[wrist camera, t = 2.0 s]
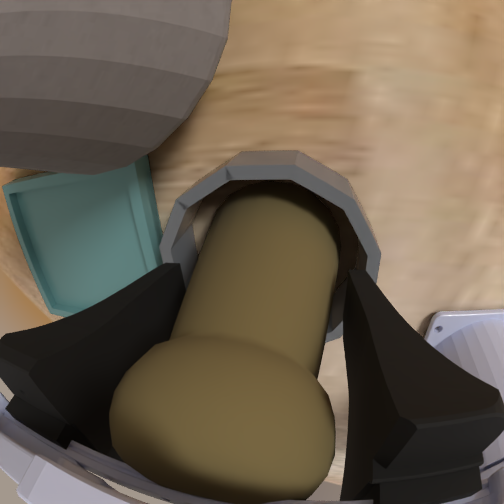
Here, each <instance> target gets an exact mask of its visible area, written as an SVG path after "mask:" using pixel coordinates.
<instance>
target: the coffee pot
mask: <svg viewBox="0 0 504 504" xmlns="http://www.w3.org/2000/svg"><path fill="white" fill-rule="evenodd" d="M231 2H232V0H0V167H9V168H20V169H30V170H40V171H49V172H58V173H66V174H84V175H97V174H101V173H104V172H108V171H112V170H115V169H119V168H123V167H127V166H128V165H130V164H132V163H133V162H135V161H137V160H138V159H140V158H141V157H143V156H145V155H146V154H148V153H150V152H152V151H153V150H155V149H157V148H158V147H159V146H160V145H161V144H162V143H163V142H164V141H165V140H166V139H167V138H168V137H169V136H170V135H171V134H172V133H173V132H174V131H175V130H176V129H177V128H178V127H179V126H180V125H181V124H182V123H183V122H184V121H185V120H186V119H187V118H188V117H189V115H190V114H191V112H192V111H193V109H194V107H195V106H196V104H197V103H198V101H199V100H200V98H201V97H202V95H203V94H204V92H205V90H206V89H207V87H208V86H209V84H210V83H211V81H212V80H213V77H214V74H215V71H216V69H217V66H218V63H219V60H220V58H221V55H222V52H223V50H224V47H225V45H226V42H227V39H228V30H229V20H230V11H231Z"/></svg>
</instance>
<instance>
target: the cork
mask: <svg viewBox="0 0 504 504" xmlns="http://www.w3.org/2000/svg"><path fill="white" fill-rule="evenodd" d="M340 249H341V243H340V235H339V227H338V225H337V223H336V221H335V219H334V217H333V215H332V213H331V211H330V209H329V208H328V207H327V206H326V205H325V204H324V203H323V202H322V201H321V200H320V199H319V198H317V197H316V196H315V195H314V194H313V193H311V192H309V191H307V190H305V189H303V188H301V187H299V186H297V185H294V184H291V183H284V182H277V181H265V182H259V183H254V184H248V185H246V186H245V187H243V188H241V189H239V190H237V191H236V192H234V193H232V194H230V195H229V196H228V198H227V199H226V200H225V201H224V202H223V203H222V204H221V206H220V207H219V208H218V209H217V211H216V214H215V216H214V219H213V222H212V224H211V227H210V229H209V232H208V234H207V237H206V240H205V242H204V245H203V247H202V250H201V253H200V255H199V258H198V261H197V263H196V266H195V269H194V271H193V274H192V277H191V280H190V282H189V285H188V288H187V291H186V293H185V296H184V299H183V302H182V305H181V307H180V310H179V313H178V316H177V319H176V322H175V325H174V327H173V330H172V333H171V336H170V339H169V341H165V342H162V343H159V344H155V345H154V346H153V347H152V348H151V349H150V350H149V351H148V352H147V353H146V354H144V355H143V356H142V357H141V358H140V359H139V360H138V361H137V362H136V363H135V364H134V365H133V366H132V367H131V368H130V369H129V370H127V371H126V373H125V374H124V376H123V378H122V379H121V381H120V383H119V384H118V386H117V388H116V389H115V391H114V395H113V399H112V403H111V407H110V412H109V424H110V433H111V440H112V446H113V447H114V449H115V450H116V452H117V453H118V455H119V456H120V457H121V459H122V460H123V461H124V462H125V463H126V464H127V465H129V466H130V467H132V468H133V469H134V470H136V471H137V472H139V473H140V474H142V475H143V476H144V477H146V478H147V479H149V480H151V481H153V482H154V483H156V484H158V485H160V486H163V487H166V488H169V489H172V490H176V491H179V492H183V493H187V494H191V495H195V496H199V497H203V498H207V499H212V500H217V501H222V502H227V503H233V504H264V503H268V502H276V501H284V500H306V499H307V498H309V497H310V496H311V495H312V494H313V493H314V491H315V490H316V489H317V488H318V487H319V485H320V484H321V483H322V482H323V481H324V479H325V478H326V477H327V475H328V472H329V470H330V467H331V464H332V461H333V459H334V456H335V419H334V414H333V410H332V406H331V403H330V399H329V396H328V394H327V393H326V391H325V390H324V389H323V387H322V386H321V385H320V383H319V382H318V380H317V378H318V374H319V369H320V365H321V360H322V355H323V350H324V345H325V340H326V335H327V330H328V325H329V319H330V314H331V308H332V302H333V296H334V290H335V283H336V277H337V270H338V263H339V256H340Z"/></svg>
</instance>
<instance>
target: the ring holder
mask: <svg viewBox="0 0 504 504" xmlns="http://www.w3.org/2000/svg"><path fill="white" fill-rule="evenodd" d="M267 179H291V180H293V181H295V182H296V183H298V184H300V185H302V186H304V187H305V188H307V189H309V190H311V191H312V192H314V193H316V194H318V195H319V196H321V197H323V198H325V199H326V200H328V201H330V202H332V203H333V204H335V205H337V206H338V207H340V208H342V209H343V210H344V211H345V213H346V215H347V217H348V219H349V221H350V222H351V224H352V226H353V228H354V230H355V232H356V234H357V236H358V238H359V240H358V249H357V259H356V267H355V268H354V269H353V270H366V271H367V272H368V274H369V275H370V276H371V278H372V279H373V281H374V282H375V283H376V282H377V277H378V271H379V264H380V258H381V251H380V248H379V245H378V243H377V240H376V237H375V234H374V231H373V229H372V226H371V224H370V222H369V220H368V218H367V216H366V214H365V212H364V210H363V208H362V206H361V204H360V202H359V200H358V198H357V196H356V194H355V192H354V190H353V189H352V187H351V185H350V183H349V181H348V179H346V178H345V177H343V176H341V175H340V174H338V173H337V172H335V171H333V170H331V169H330V168H328V167H326V166H325V165H323V164H321V163H319V162H318V161H316V160H314V159H312V158H311V157H309V156H307V155H305V154H304V153H302V152H300V151H245V152H240V153H238V154H237V155H235V156H234V157H232V158H231V159H229V160H228V161H226V162H225V163H223V164H222V165H220V166H219V167H217V168H216V169H214V170H213V171H211V172H210V173H208V174H207V175H205V176H204V177H202V178H201V179H199V180H198V181H197V182H196V183H195V184H193V185H192V186H191V187H190V188H189V189H188V190H186V191H185V192H184V193H183V194H182V195H181V196H180V197H178V198H177V199H176V201H175V204H174V207H173V209H172V212H171V215H170V218H169V220H168V223H167V226H166V229H165V232H164V234H163V237H162V240H161V243H160V246H159V248H160V252H161V256H162V260H163V264H164V263H180V265H181V270H182V274H183V279H184V283H185V288H186V291H187V288H188V285H189V282H190V280H191V277H192V274H193V271H194V269H195V266H196V263H197V261H198V255H197V250H196V244H195V238H194V232H193V226H192V223H193V221H194V218H195V216H196V214H197V211H198V209H199V207H200V204H201V202H202V200H203V197H205V196H206V195H208V194H210V193H211V192H213V191H214V190H216V189H217V188H219V187H220V186H222V185H223V184H225V183H227V182H228V181H230V180H267ZM347 280H348V277H347V278H346V279H345V281H344V282H343V283H342V284H341V286H340V287H339V288H338V289H337V290H336V292H335V293H334V296H333V302H332V308H331V314H330V319H329V325H328V330H327V335H326V340H325V343H326V342H329V341H332V340H335V339H337V338H340V337H341V336H342V335H343V311H344V303H345V296H346V288H347Z"/></svg>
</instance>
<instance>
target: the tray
mask: <svg viewBox="0 0 504 504" xmlns="http://www.w3.org/2000/svg"><path fill="white" fill-rule="evenodd" d="M2 188H3V192H4V195H5V199H6V202H7V206H8V209H9V212H10V216H11V219H12V222H13V225H14V228H15V231H16V234H17V237H18V240H19V242H20V245H21V248H22V250H23V253H24V256H25V258H26V261H27V263H28V266H29V268H30V270H31V273H32V275H33V277H34V280H35V282H36V284H37V287H38V289H39V291H40V293H41V295H42V297H43V300H44V302H45V304H46V306H47V308H48V310H49V312H50V313H51V314H55V315H59V316H63V317H68V316H70V315H73V314H75V313H78V312H80V311H82V310H84V309H86V308H89V307H91V306H93V305H95V304H97V303H98V302H100V301H102V300H104V299H106V298H107V297H109V296H111V295H112V294H114V293H116V292H117V291H119V290H121V289H123V288H124V287H126V286H127V285H129V284H131V283H132V282H134V281H135V280H137V279H139V278H140V277H142V276H143V275H145V274H146V273H148V272H150V271H151V270H153V269H155V268H156V267H158V266H160V265H162V264H163V260H162V256H161V252H160V248H159V246H160V243H161V240H162V237H163V234H162V229H161V224H160V220H159V215H158V210H157V204H156V199H155V194H154V189H153V183H152V177H151V171H150V166H149V159H148V155H145V156H143V157H141V158H140V159H138V160H137V161H135V162H133V163H132V164H130V165H128V166H127V167H123V168H119V169H115V170H112V171H108V172H104V173H101V174H97V175H84V174H66V173H58V172H44V173H40V174H36V175H31V176H27V177H23V178H19V179H15V180H13V181H11V182H9V183H7V184H5V185H3V186H2Z"/></svg>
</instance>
